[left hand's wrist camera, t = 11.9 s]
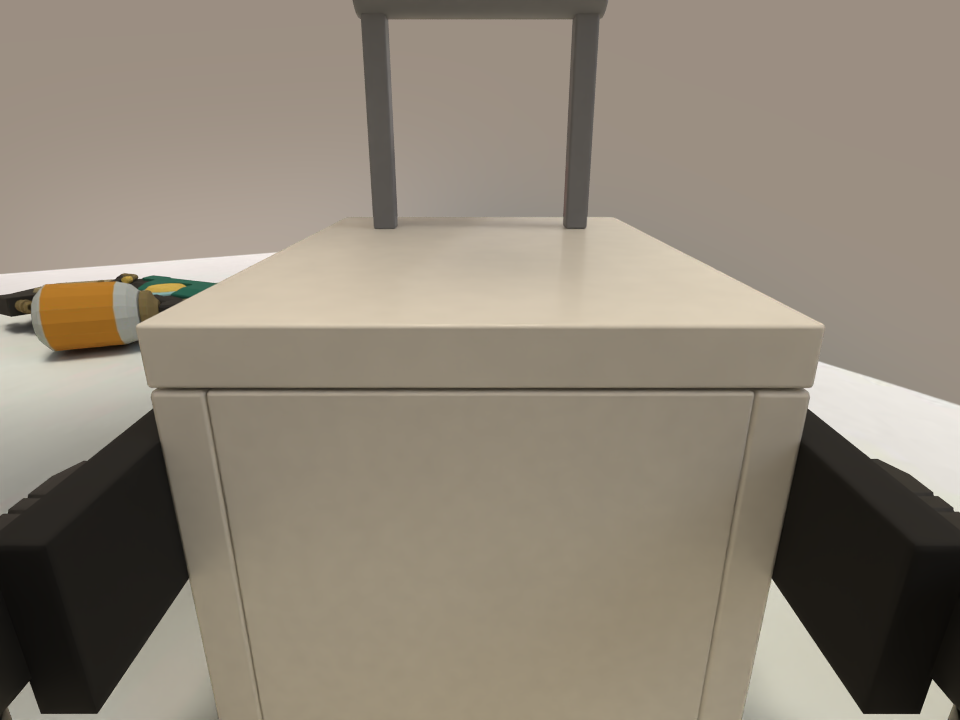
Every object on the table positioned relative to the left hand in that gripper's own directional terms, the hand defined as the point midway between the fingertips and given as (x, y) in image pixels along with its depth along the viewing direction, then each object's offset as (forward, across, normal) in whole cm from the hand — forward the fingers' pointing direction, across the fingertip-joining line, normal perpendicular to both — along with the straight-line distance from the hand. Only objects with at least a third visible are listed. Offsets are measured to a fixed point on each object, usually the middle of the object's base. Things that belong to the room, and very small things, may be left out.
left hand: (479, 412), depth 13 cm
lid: (+3, 0, +2) cm, 4 cm away
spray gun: (+30, -26, -7) cm, 40 cm away
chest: (+3, 0, -7) cm, 7 cm away
